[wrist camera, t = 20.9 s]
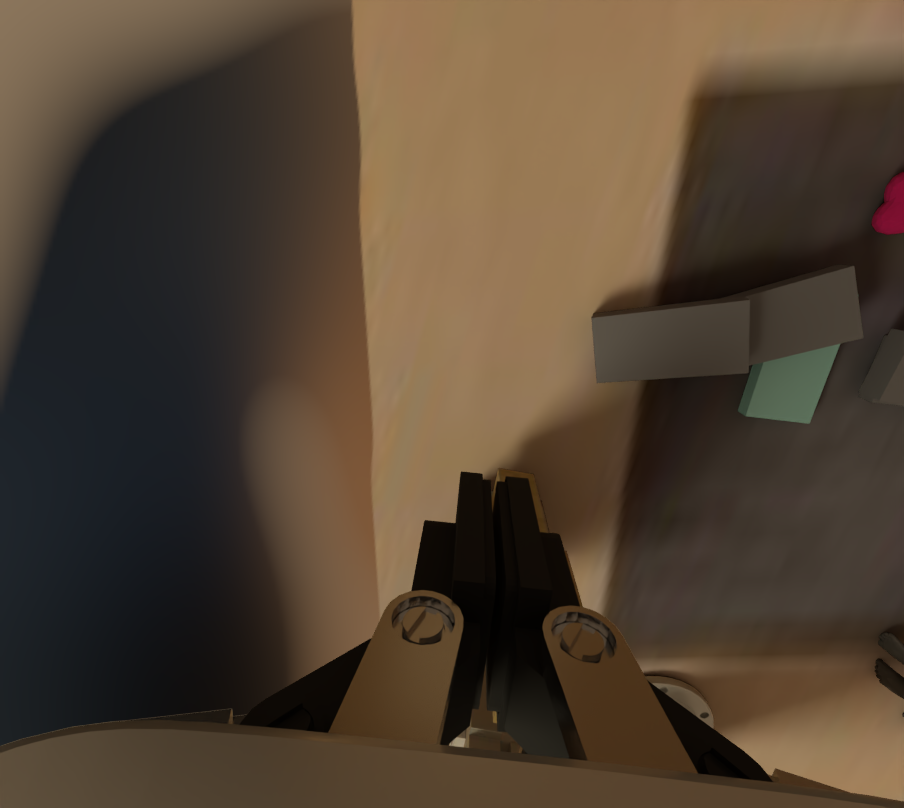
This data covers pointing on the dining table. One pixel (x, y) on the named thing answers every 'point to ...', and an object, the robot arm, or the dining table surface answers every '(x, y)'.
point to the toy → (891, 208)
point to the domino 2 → (803, 314)
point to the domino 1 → (673, 340)
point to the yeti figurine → (884, 671)
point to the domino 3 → (788, 386)
